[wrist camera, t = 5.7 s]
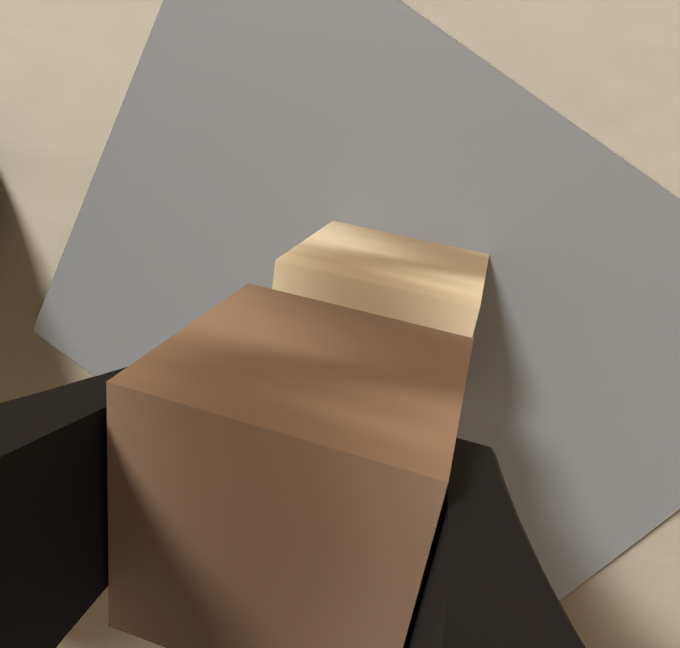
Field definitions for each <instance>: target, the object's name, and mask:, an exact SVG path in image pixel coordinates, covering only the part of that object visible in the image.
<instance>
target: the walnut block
mask: <svg viewBox="0 0 680 648" xmlns="http://www.w3.org/2000/svg"><path fill="white" fill-rule="evenodd" d="M473 339H474V338H471V337H466V336H462V335H458V334H454V333H450V332H446V331H442V330H438V329H434V328H430V327H426V326H421V325H417V324H413V323H409V322H405V321H401V320H397V319H393V318H389V317H385V316H381V315H376V314H372V313H368V312H364V311H360V310H356V309H352V308H348V307H344V306H340V305H335V304H331V303H327V302H323V301H319V300H315V299H311V298H307V297H303V296H299V295H295V294H290V293H286V292H282V291H278V290H274V289H270V288H266V287H262V286H258V285H254V284H250V283H248V284H246V285H245V286H243V287H242V288H241V289H239V290H238V291H236V292H235V293H233V294H232V295H231V296H229V297H228V298H226V299H225V300H223V301H222V302H220V303H219V304H218V305H216V306H215V307H213V308H212V309H210V310H209V311H207V312H206V313H205V314H203V315H202V316H200V317H199V318H197V319H196V320H194V321H193V322H192V323H190V324H189V325H187V326H186V327H184V328H183V329H182V330H180V331H179V332H177V333H176V334H174V335H173V336H171V337H170V338H169V339H167V340H166V341H164V342H163V343H161V344H160V345H158V346H157V347H156V348H154V349H153V350H151V351H150V352H148V353H147V354H145V355H144V356H143V357H141V358H140V359H138V360H137V361H135V362H134V363H133V364H131V365H130V366H128V367H127V368H125V369H124V370H122V371H121V372H120V373H118V374H117V375H115V376H114V377H112V378H111V379H109V380H108V381H107V382H106V399H107V489H108V579H109V626H111V627H114V628H116V629H119V630H121V631H124V632H127V633H129V634H132V635H134V636H137V637H140V638H142V639H145V640H147V641H150V642H152V643H155V644H158V645H160V646H163V647H165V648H403V646H404V642H405V638H406V635H407V631H408V628H409V624H410V620H411V617H412V613H413V609H414V606H415V602H416V598H417V595H418V591H419V588H420V584H421V580H422V577H423V573H424V569H425V566H426V562H427V558H428V555H429V551H430V548H431V544H432V540H433V537H434V533H435V529H436V526H437V522H438V518H439V515H440V511H441V508H442V504H443V500H444V497H445V493H446V489H447V486H448V482H449V476H450V470H451V465H452V459H453V453H454V448H455V442H456V436H457V430H458V425H459V419H460V413H461V408H462V402H463V396H464V390H465V385H466V379H467V373H468V368H469V362H470V356H471V350H472V345H473Z"/></svg>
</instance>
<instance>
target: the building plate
mask: <svg viewBox="0 0 680 648" xmlns="http://www.w3.org/2000/svg"><path fill="white" fill-rule="evenodd" d="M332 221H336V222H341V223H346V224H350V225H355V226H360V227H364V228H369V229H374V230H378V231H383V232H388V233H392V234H397V235H402V236H406V237H411V238H416V239H420V240H425V241H430V242H434V243H439V244H444V245H448V246H453V247H458V248H462V249H467V250H472V251H476V252H481V253H486V254H489V259H488V265H487V270H486V276H485V282H484V288H483V294H482V299H481V305H480V310H479V314H478V317H477V321H476V325H475V329H474V333H473V337H472V338H474V339H473V345H472V350H471V356H470V362H469V368H468V373H467V379H466V385H465V390H464V396H463V402H462V408H461V413H460V419H459V425H458V430H457V436H456V438H460V439H463V440H467V441H470V442H474V443H478V444H481V445H485V446H488V447H491V448H492V450H493V451H494V453H495V455H496V456H497V460H498V463H499V466H500V469H501V472H502V475H503V478H504V481H505V484H506V486H507V489H508V492H509V494H510V497H511V499H512V502H513V504H514V507H515V510H516V512H517V514H518V517H519V519H520V521H521V524H522V526H523V528H524V530H525V533H526V535H527V537H528V539H529V541H530V543H531V546H532V548H533V550H534V552H535V554H536V556H537V559H538V561H539V563H540V565H541V567H542V569H543V571H544V573H545V575H546V577H547V579H548V581H549V583H550V585H551V587H552V589H553V591H554V592H555V594H556V596H557V598H558V600H559V601H560V600H561V599H563V598H564V597H565V596H567V595H568V594H569V593H570V592H572V591H573V590H574V589H576V588H577V587H578V586H580V585H581V584H582V583H584V582H585V581H586V580H588V579H589V578H590V577H591V576H593V575H594V574H595V573H597V572H598V571H599V570H601V569H602V568H603V567H605V566H606V565H607V564H608V563H610V562H611V561H612V560H614V559H615V558H616V557H618V556H619V555H620V554H622V553H623V552H624V551H625V550H627V549H628V548H629V547H631V546H632V545H633V544H635V543H636V542H637V541H639V540H640V539H641V538H643V537H644V536H645V535H646V534H648V533H649V532H650V531H652V530H653V529H654V528H656V527H657V526H658V525H660V524H661V523H662V522H663V521H665V520H666V519H667V518H669V517H670V516H671V515H673V514H674V513H675V512H677V511H678V510H679V509H680V199H679V198H677V197H676V196H675V195H673V194H672V193H670V192H669V191H668V190H666V189H665V188H663V187H662V186H661V185H659V184H658V183H656V182H655V181H653V180H652V179H651V178H649V177H648V176H646V175H645V174H644V173H642V172H641V171H639V170H638V169H637V168H635V167H634V166H632V165H631V164H630V163H628V162H627V161H625V160H624V159H623V158H621V157H620V156H618V155H617V154H615V153H614V152H613V151H611V150H610V149H608V148H607V147H606V146H604V145H603V144H601V143H600V142H599V141H597V140H596V139H594V138H593V137H592V136H590V135H589V134H587V133H586V132H585V131H583V130H582V129H580V128H579V127H577V126H576V125H575V124H573V123H572V122H570V121H569V120H568V119H566V118H565V117H563V116H562V115H561V114H559V113H558V112H556V111H555V110H554V109H552V108H551V107H549V106H548V105H547V104H545V103H544V102H542V101H541V100H540V99H538V98H537V97H535V96H534V95H532V94H531V93H530V92H528V91H527V90H525V89H524V88H523V87H521V86H520V85H518V84H517V83H516V82H514V81H513V80H511V79H510V78H509V77H507V76H506V75H504V74H503V73H502V72H500V71H499V70H497V69H496V68H494V67H493V66H492V65H490V64H489V63H487V62H486V61H485V60H483V59H482V58H480V57H479V56H478V55H476V54H475V53H473V52H472V51H471V50H469V49H468V48H466V47H465V46H464V45H462V44H461V43H459V42H458V41H456V40H455V39H454V38H452V37H451V36H449V35H448V34H447V33H445V32H444V31H442V30H441V29H440V28H438V27H437V26H435V25H434V24H433V23H431V22H430V21H428V20H427V19H426V18H424V17H423V16H421V15H420V14H418V13H417V12H416V11H414V10H413V9H411V8H410V7H409V6H407V5H406V4H404V3H403V2H402V1H400V0H163V3H162V5H161V8H160V10H159V13H158V15H157V18H156V20H155V23H154V25H153V28H152V30H151V33H150V35H149V38H148V40H147V43H146V45H145V48H144V50H143V53H142V55H141V58H140V61H139V63H138V66H137V68H136V71H135V73H134V76H133V78H132V81H131V83H130V86H129V88H128V91H127V93H126V96H125V98H124V101H123V103H122V106H121V108H120V111H119V113H118V116H117V118H116V121H115V123H114V126H113V128H112V131H111V134H110V136H109V139H108V141H107V144H106V146H105V149H104V151H103V154H102V156H101V159H100V161H99V164H98V166H97V169H96V171H95V174H94V176H93V179H92V181H91V184H90V186H89V189H88V191H87V194H86V196H85V199H84V202H83V204H82V207H81V209H80V212H79V214H78V217H77V219H76V222H75V224H74V227H73V229H72V232H71V234H70V237H69V239H68V242H67V244H66V247H65V249H64V252H63V254H62V257H61V259H60V262H59V264H58V267H57V269H56V272H55V275H54V277H53V280H52V282H51V285H50V287H49V290H48V292H47V295H46V297H45V300H44V302H43V305H42V307H41V310H40V312H39V315H38V317H37V320H36V322H35V325H34V327H33V330H32V331H33V332H34V333H36V334H37V335H39V336H40V337H41V338H43V339H44V340H45V341H47V342H48V343H49V344H51V345H52V346H54V347H55V348H56V349H58V350H59V351H60V352H62V353H63V354H65V355H66V356H67V357H69V358H70V359H71V360H73V361H74V362H75V363H77V364H78V365H80V366H81V367H82V368H84V369H85V370H86V371H88V372H89V373H91V374H92V375H93V376H98V375H101V374H105V373H108V372H111V371H115V370H118V369H121V368H125V367H128V366H130V365H131V364H133V363H134V362H135V361H137V360H138V359H140V358H141V357H143V356H144V355H145V354H147V353H148V352H150V351H151V350H153V349H154V348H156V347H157V346H158V345H160V344H161V343H163V342H164V341H166V340H167V339H169V338H170V337H171V336H173V335H174V334H176V333H177V332H179V331H180V330H182V329H183V328H184V327H186V326H187V325H189V324H190V323H192V322H193V321H194V320H196V319H197V318H199V317H200V316H202V315H203V314H205V313H206V312H207V311H209V310H210V309H212V308H213V307H215V306H216V305H218V304H219V303H220V302H222V301H223V300H225V299H226V298H228V297H229V296H231V295H232V294H233V293H235V292H236V291H238V290H239V289H241V288H242V287H243V286H245V285H246V284H248V283H250V284H254V285H258V286H262V287H266V288H270V289H272V285H273V275H274V266H275V260H276V259H277V258H279V257H280V256H282V255H283V254H285V253H286V252H288V251H289V250H291V249H292V248H294V247H295V246H296V245H298V244H299V243H301V242H302V241H304V240H305V239H307V238H308V237H310V236H311V235H313V234H314V233H316V232H317V231H319V230H320V229H321V228H323V227H324V226H326V225H327V224H329V223H330V222H332Z"/></svg>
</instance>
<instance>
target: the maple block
mask: <svg viewBox="0 0 680 648" xmlns="http://www.w3.org/2000/svg"><path fill="white" fill-rule="evenodd" d="M488 259H489V254H486V253H481V252H476V251H472V250H467V249H462V248H458V247H453V246H448V245H444V244H439V243H434V242H430V241H425V240H420V239H416V238H411V237H406V236H402V235H397V234H392V233H388V232H383V231H378V230H374V229H369V228H364V227H360V226H355V225H350V224H346V223H341V222H336V221H332V222H330V223H329V224H327V225H326V226H324V227H323V228H321V229H320V230H319V231H317V232H316V233H314V234H313V235H311V236H310V237H308V238H307V239H305V240H304V241H302V242H301V243H299V244H298V245H296V246H295V247H294V248H292V249H291V250H289V251H288V252H286V253H285V254H283V255H282V256H280V257H279V258H277V259H276V260H275V266H274V275H273V285H272V289H274V290H278V291H282V292H286V293H290V294H295V295H299V296H303V297H307V298H311V299H315V300H319V301H323V302H327V303H331V304H335V305H340V306H344V307H348V308H352V309H356V310H360V311H364V312H368V313H372V314H376V315H381V316H385V317H389V318H393V319H397V320H401V321H405V322H409V323H413V324H417V325H421V326H426V327H430V328H434V329H438V330H442V331H446V332H450V333H454V334H458V335H462V336H466V337H471V338H472V337H473V333H474V329H475V325H476V321H477V317H478V314H479V310H480V305H481V299H482V294H483V288H484V282H485V276H486V270H487V265H488Z"/></svg>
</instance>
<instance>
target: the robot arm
mask: <svg viewBox="0 0 680 648" xmlns="http://www.w3.org/2000/svg"><path fill="white" fill-rule="evenodd" d="M125 368H127V367H125ZM125 368H121V369H118V370H115V371H111V372H108V373H105V374H101V375H98V376H95V377H91V378H88V379H85V380H81V381H78V382H74V383H71V384H68V385H64V386H61V387H58V388H54V389H51V390H48V391H44V392H41V393H37V394H33V395H30V396H26V397H22V398H18V399H15V400H11V401H7V402H3V403H0V648H56V647H57V646H58V644H59V643H60V642H61V641H62V639H63V638H64V637H65V636H66V634H67V633H68V632H69V631H70V630H71V629H72V627H73V626H74V625H75V624H76V623H77V621H78V620H79V619H80V618H81V617H82V616H83V614H84V613H85V612H86V611H87V610H88V609H89V607H90V606H91V605H92V604H93V603H94V601H95V600H96V599H97V598H98V597H99V596H100V594H101V593H102V592H103V591H104V590H105V589H106V587H107V586H108V585H109V579H108V489H107V399H106V382H107V381H108V380H109V379H111V378H112V377H114V376H115V375H117V374H118V373H120V372H121V371H122V370H124V369H125ZM403 648H585V646H584V645H583V643H582V641H581V639H580V638H579V636H578V634H577V633H576V631H575V629H574V627H573V626H572V624H571V622H570V620H569V618H568V617H567V615H566V613H565V611H564V609H563V607H562V605H561V604H560V602H559V600H558V598H557V596H556V594H555V592H554V591H553V589H552V587H551V585H550V583H549V581H548V579H547V577H546V575H545V573H544V571H543V569H542V567H541V565H540V563H539V561H538V559H537V556H536V554H535V552H534V550H533V548H532V546H531V543H530V541H529V539H528V537H527V535H526V533H525V530H524V528H523V526H522V524H521V521H520V519H519V517H518V514H517V512H516V510H515V507H514V504H513V502H512V499H511V497H510V494H509V492H508V489H507V486H506V484H505V481H504V478H503V475H502V472H501V469H500V466H499V463H498V460H497V456H496V455H495V453H494V451H493V450H492V448H491V447H488V446H485V445H481V444H478V443H474V442H470V441H467V440H463V439H460V438H456V442H455V448H454V453H453V459H452V465H451V470H450V476H449V482H448V486H447V489H446V493H445V497H444V500H443V504H442V508H441V511H440V515H439V518H438V522H437V526H436V529H435V533H434V537H433V540H432V544H431V548H430V551H429V555H428V558H427V562H426V566H425V569H424V573H423V577H422V580H421V584H420V588H419V591H418V595H417V598H416V602H415V606H414V609H413V613H412V617H411V620H410V624H409V628H408V631H407V635H406V638H405V642H404V646H403Z"/></svg>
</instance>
